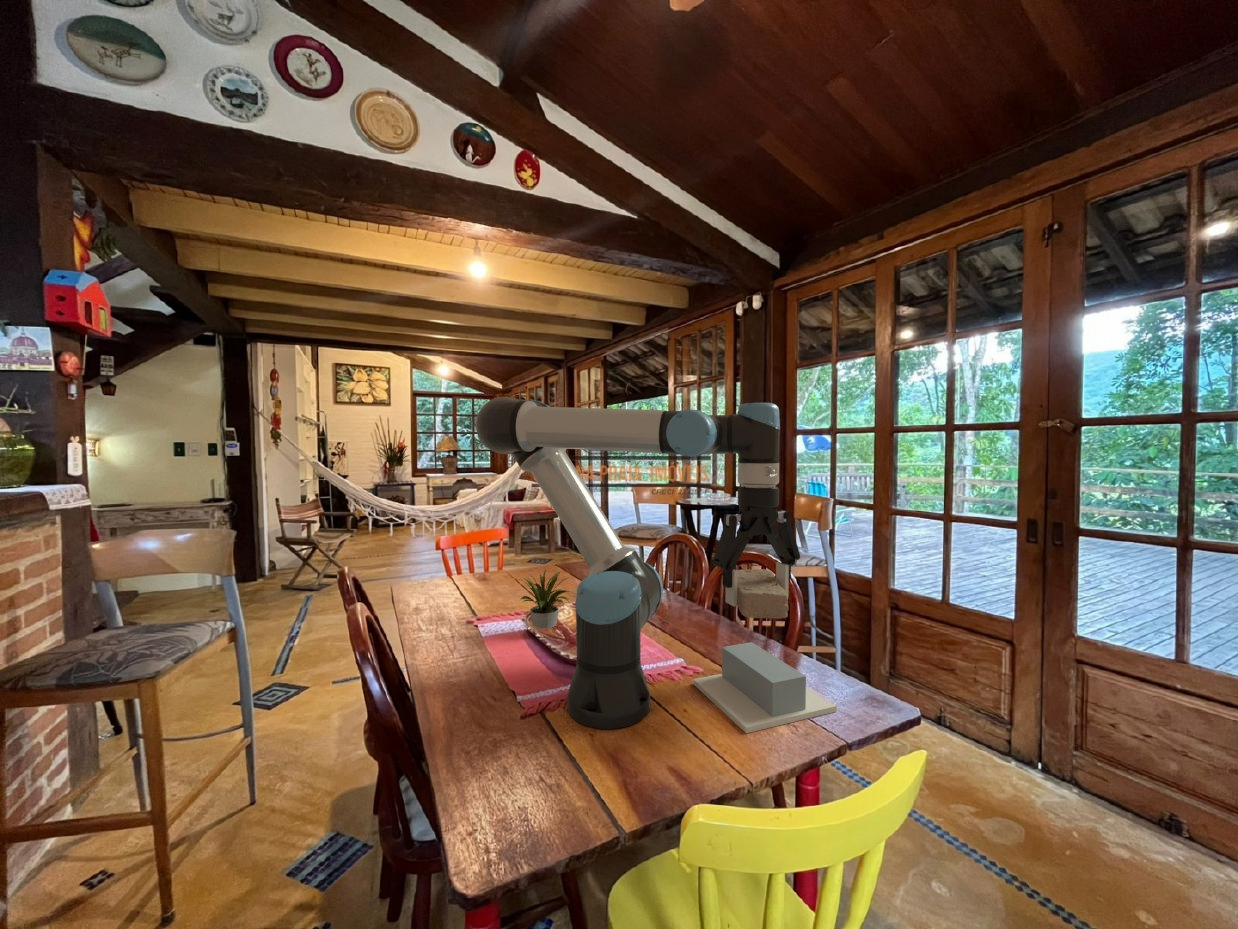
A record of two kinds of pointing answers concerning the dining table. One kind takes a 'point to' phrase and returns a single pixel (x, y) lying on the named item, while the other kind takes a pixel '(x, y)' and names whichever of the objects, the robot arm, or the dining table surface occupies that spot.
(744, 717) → the tower base
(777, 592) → the brick
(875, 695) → the dining table surface
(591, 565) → the robot arm
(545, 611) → the house plant
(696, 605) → the dining table surface
